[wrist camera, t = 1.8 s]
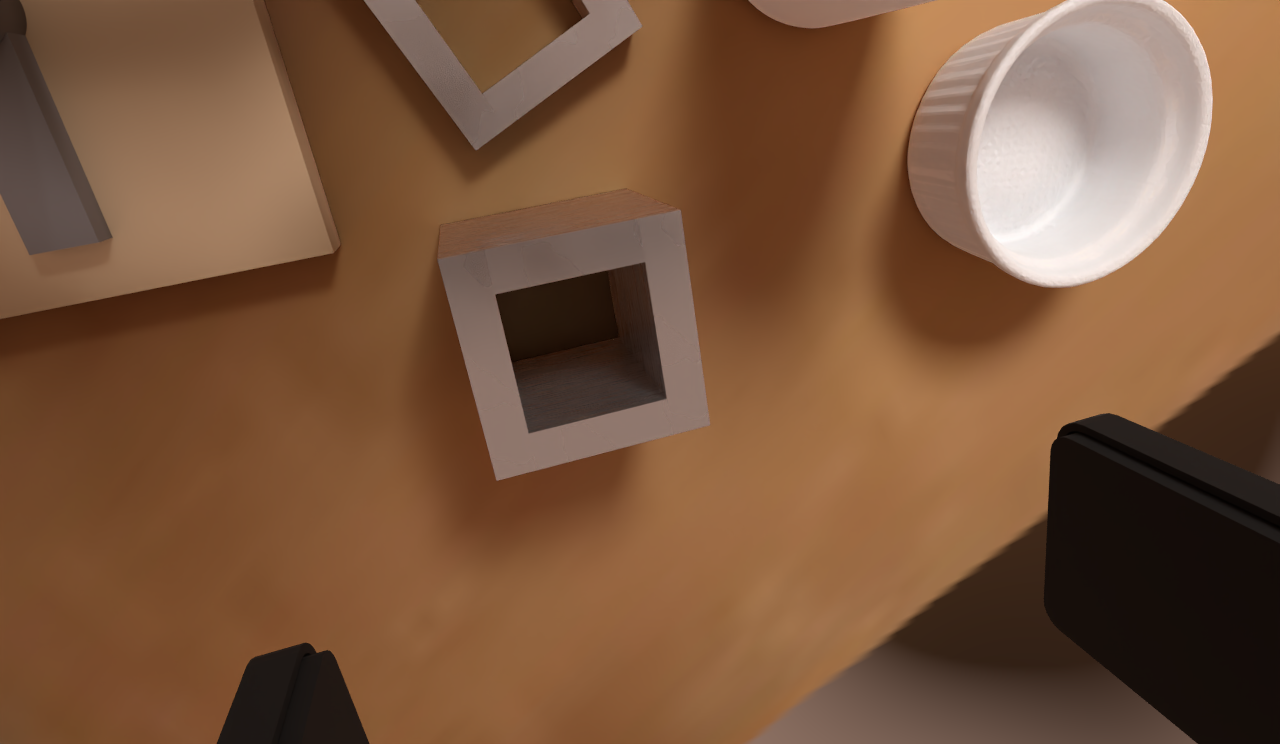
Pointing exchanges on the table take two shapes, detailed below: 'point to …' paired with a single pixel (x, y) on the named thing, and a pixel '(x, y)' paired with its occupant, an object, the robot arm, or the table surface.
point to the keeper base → (147, 149)
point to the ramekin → (1064, 138)
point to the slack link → (523, 87)
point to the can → (827, 10)
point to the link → (591, 374)
